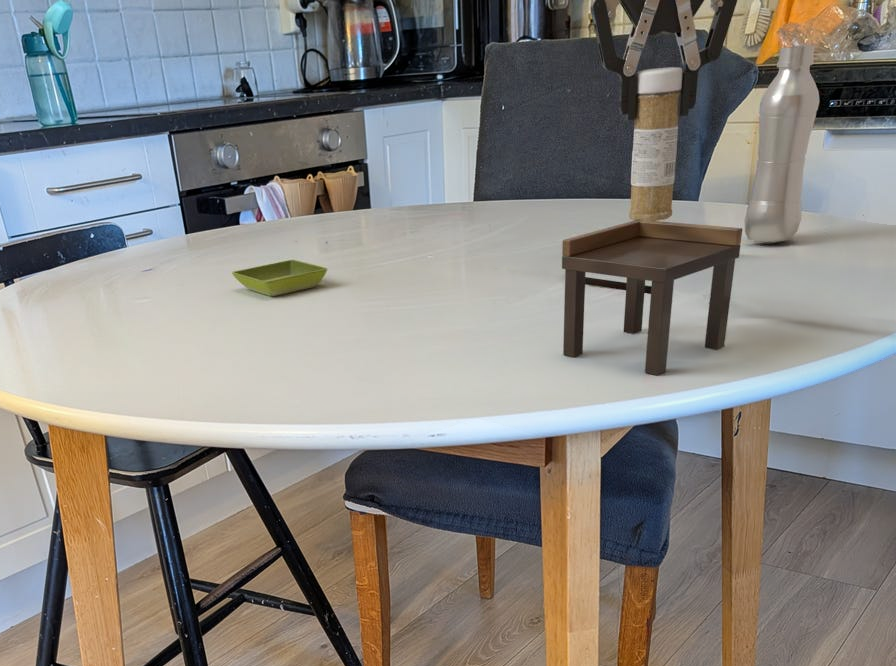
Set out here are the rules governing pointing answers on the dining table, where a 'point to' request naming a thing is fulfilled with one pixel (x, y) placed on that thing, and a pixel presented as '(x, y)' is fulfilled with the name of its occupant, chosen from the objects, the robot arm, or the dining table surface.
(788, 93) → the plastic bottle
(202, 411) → the dining table surface
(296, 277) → the green square tray
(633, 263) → the small brown wooden table
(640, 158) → the sprinkles bottle
